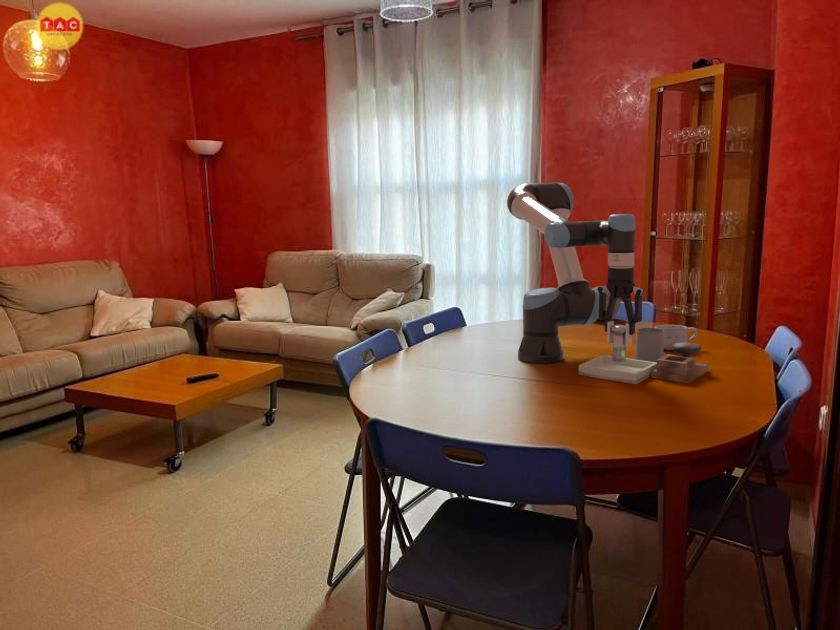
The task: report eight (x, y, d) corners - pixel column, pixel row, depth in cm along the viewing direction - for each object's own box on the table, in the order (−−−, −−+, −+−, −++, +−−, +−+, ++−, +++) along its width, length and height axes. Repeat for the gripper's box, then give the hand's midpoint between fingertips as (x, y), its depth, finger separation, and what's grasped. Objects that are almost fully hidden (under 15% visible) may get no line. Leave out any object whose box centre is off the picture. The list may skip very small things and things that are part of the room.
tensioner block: (651, 377, 188) (651, 351, 186) (672, 365, 200) (673, 340, 199) (689, 383, 180) (690, 356, 179) (709, 370, 193) (710, 344, 191)
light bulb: (607, 361, 192) (607, 327, 190) (614, 357, 195) (615, 324, 194) (623, 363, 188) (624, 328, 186) (630, 360, 192) (631, 326, 190)
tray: (578, 374, 193) (578, 365, 192) (602, 363, 205) (602, 354, 204) (636, 384, 181) (636, 374, 180) (658, 372, 193) (658, 362, 192)
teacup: (653, 351, 219) (654, 328, 218) (654, 344, 229) (655, 322, 228) (697, 353, 214) (698, 330, 212) (696, 346, 224) (697, 324, 222)
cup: (664, 363, 203) (665, 332, 201) (637, 363, 204) (638, 332, 203) (660, 357, 211) (661, 327, 209) (634, 356, 212) (635, 327, 211)
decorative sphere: (585, 323, 271) (586, 288, 269) (582, 316, 286) (583, 283, 283) (622, 323, 269) (623, 288, 266) (617, 316, 283) (618, 283, 281)
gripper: (586, 266, 190) (585, 342, 194) (645, 269, 178) (643, 349, 182) (598, 264, 196) (597, 338, 200) (656, 266, 184) (654, 345, 188)
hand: (619, 343), depth 191 cm, fingers closed on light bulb, 5 cm apart
